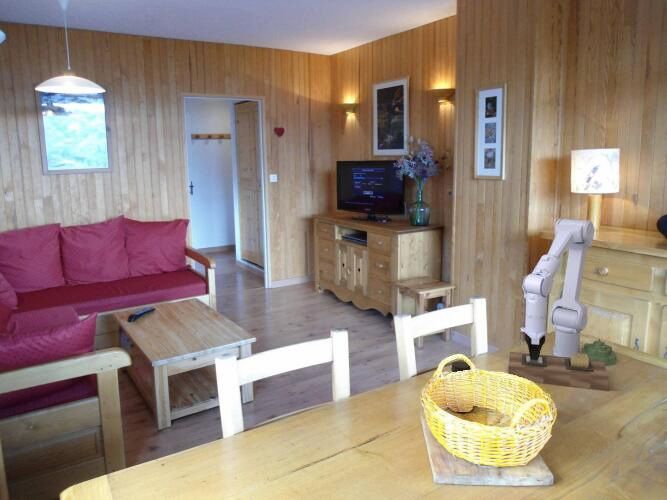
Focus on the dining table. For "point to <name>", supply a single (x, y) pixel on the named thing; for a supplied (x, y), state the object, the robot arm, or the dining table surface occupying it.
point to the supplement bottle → (459, 366)
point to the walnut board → (559, 372)
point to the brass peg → (579, 360)
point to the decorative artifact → (600, 352)
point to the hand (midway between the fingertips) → (534, 359)
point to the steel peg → (534, 360)
